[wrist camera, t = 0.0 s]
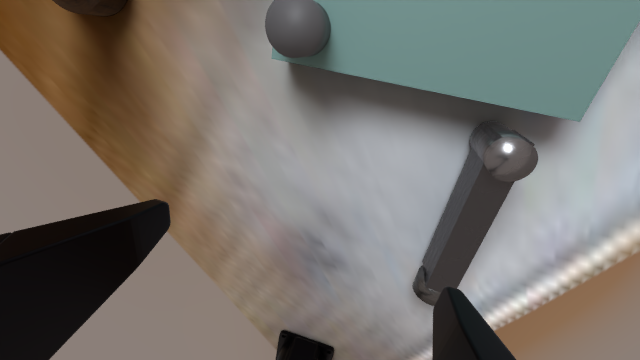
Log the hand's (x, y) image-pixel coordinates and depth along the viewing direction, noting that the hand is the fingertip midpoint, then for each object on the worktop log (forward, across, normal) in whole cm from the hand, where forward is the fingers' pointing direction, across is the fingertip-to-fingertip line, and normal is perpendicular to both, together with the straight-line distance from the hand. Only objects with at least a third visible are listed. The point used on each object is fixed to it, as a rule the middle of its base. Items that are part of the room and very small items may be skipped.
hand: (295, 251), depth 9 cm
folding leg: (+14, -9, +4) cm, 17 cm away
